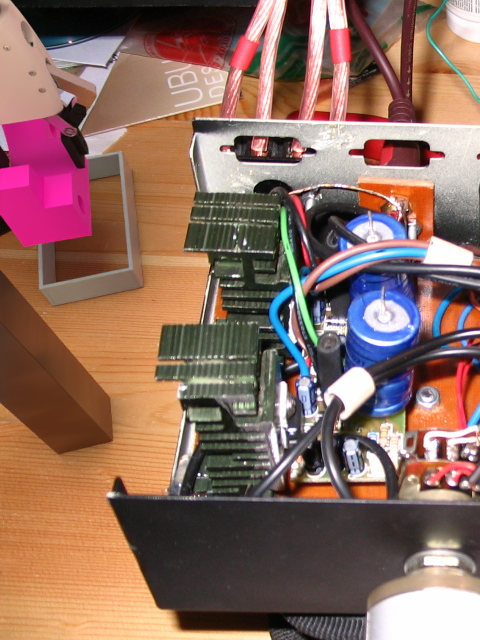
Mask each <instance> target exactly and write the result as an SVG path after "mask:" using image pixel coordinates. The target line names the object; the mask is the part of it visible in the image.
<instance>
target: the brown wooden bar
mask: <svg viewBox="0 0 480 640" xmlns="http://www.w3.org/2000/svg"><path fill="white" fill-rule="evenodd" d="M0 404H1V406H3V407H4V408H5V409H6V410H7V411H8V412H9V413H11V415H13V416H14V417H15V418H16V419H17V420H19V421H20V423H22V424H23V425H24V426H25V427H26V428H28V430H30V431H31V432H32V433H33V434H35V435H36V436H37V437H38V438H39V439H40V440H41V441H42V442H43V443H44V444H46V445H47V447H49V448H50V449H51V450H52V451H54V453H56V454H57V455H61V454H64V453H68V452H72V451H77V450H80V449H85V448H89V447H93V446H96V445H101V444H106V443H111V442H113V440H114V439H113V426H112V425H113V424H112V411H111V397H110V396H109V394H108V393H107V392H106V391H105V389H103V387H102V386H101V385H100V384H99V383H98V381H97V380H96V379H95V378H94V377H93V376H92V374H91V373H90V372H89V371H88V370H87V368H86V367H85V366H83V364H82V363H81V361H79V360H78V359H77V357H76V356H75V355H74V354H73V352H72V351H71V350H70V349H69V347H68V346H66V344H65V343H64V342H63V341H62V340H61V338H60V337H59V336H58V335H57V333H55V332H54V330H53V329H52V328H51V327H50V325H49V324H48V323H47V322H46V321H45V320H44V319H43V318H42V316H41V315H40V314H39V313H38V312H37V310H36V309H35V308H34V307H33V306H32V304H30V302H29V301H28V300H27V299H26V298H25V297H24V295H23V294H22V293H21V291H19V289H18V288H17V287H16V286H15V285H14V284H13V283H12V282H11V280H10V279H9V278H8V276H7V275H5V273H4V272H3V271H2V270H1V269H0Z"/></svg>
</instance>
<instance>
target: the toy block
mask: <svg viewBox="0 0 480 640" xmlns="http://www.w3.org/2000/svg"><path fill="white" fill-rule="evenodd" d="M0 126H1V128H2V131H3V134H4V137H5V142H6V145H7V150H8V155H9V156H8V157H9V161H10V167H9V168H3V169H0V217H1V218H2V219H3V221H4V222H5V223H6V225H7V226H8V228H10V230H11V232H12V233H13V234H14V236H15V237H16V238H17V239H18V241H19V243H21V245H22V247H24V248H25V247H32V246H38V244H43V243H49V242H61V241H66V240H73V239H78V238H83V237H90V236H92V235H93V233H92V211H91V210H92V209H91V191H90V180H89V167H88V160H87V158H86V157H87V156H85V168H83V169H79V168H76V166H75V164H74V163H73V161H72V159H71V157H70V156H69V154H68V152H67V150H66V149H65V147H64V145H63V144H62V142H61V135H60V131H59V130H58V129H56V128H55V127H54V126H53V125H51V124H50V123H49V122H47V121H46V120H45V119H43V118H40V119H34V120H28V121H22V122H15V123H9V124H2V125H0Z"/></svg>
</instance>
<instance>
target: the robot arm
mask: <svg viewBox="0 0 480 640" xmlns="http://www.w3.org/2000/svg"><path fill="white" fill-rule="evenodd" d="M60 90H61V91H64V92H66V93H69V94H71V95H73V97H71V100H70V101H69V102H68V103H66V102H65V101H64V100H63V99H62V97H61V96H62V95H61V93H60ZM97 93H98V92H97V85H96V84H95V83H93V82H91V81H89V80H86V79H83V78H82V77H80V76H77V75H75V74H73V73H71V72H68V71H66V70H64V69H61V68H59V67H57V65H56V63H55V62H54V60H53V58H52V57H51V55H50V53H49V51H48V50H47V48H46V47H45V46H44V44H43V42H42V41H41V39H40V38H39V37H38V34H37V33H36V32H35V30H34V29H33V27H32V26H31V25H30V24H29V22H28V21H27V19H26V18H25V16H24V15H23V14H22V13H21V11H20V10H19V9H18V7H17V6H15V4H14V3H13V1H12V0H0V126H1V125H2V124H9V123H15V122H22V121H28V120H34V119H40V118H43V119H45V120H46V121H47V122H49V123H50V124H51V125H53V126H54V127H55V128H56V129H58V130H59V131H60V135H61V142H62V144H63V145H64V147H65V149H66V150H67V152H68V154H69V156H70V157H71V159H72V161H73V163H74V164H75V166H76V168H79V169H83V168H85V157H86V156H87V155H89V154H90V150H89V145H88V142H87V140H86V139H85V137H84V136H83V133H82V132H81V129H80V128H79V127H80V125H81V124H82V123H83V121H84V120H85V118H86V117H87V114H88V111H89V109H90V108H92V106H93V104H94V102H95V101H96V99H97V97H98V94H97ZM9 167H10V157H9V156H8V155H7V153H6V151H5V150H4V148H3V147H2V146H1V145H0V169H3V168H9Z"/></svg>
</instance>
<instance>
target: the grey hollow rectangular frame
mask: <svg viewBox="0 0 480 640" xmlns="http://www.w3.org/2000/svg"><path fill="white" fill-rule="evenodd" d="M85 157H86V158H87V160H88V167H89V181H91V180H97V179H102V178H107V177H113V176H120V184H121V185H120V186H121V187H120V188H121V196H122V197H121V198H122V208H123V219H124V229H125V231H124V232H125V241H126V253H127V263H128V264H127V265H128V267H124V268H121V269H115V270H110V271H106V272H101V273H96V274H91V275H87V276H81V277H77V278H73V279H66V280H63V281H58V282H57V276H56V275H57V270H56V243H55V242H56V241H55V242H49V243H43V244H38V245H37V253H38V254H37V255H38V256H37V257H38V259H37V260H38V261H37V262H38V290H39V291H40V292H41V293H42V294H43V296H44V297H45V299H46V300H47V301H48V302H49V304H51V306H52V307H56V306H60V305H65V304H70V303H75V302H78V301H83V300H89V299H93V298H98V297H103V296H108V295H112V294H117V293H121V292H126V291H131V290H137V289H140V288H144V277H143V268H142V257H141V247H140V237H139V227H138V219H137V208H136V206H137V205H136V197H135V189H134V188H135V187H134V178H133V169H132V167H131V165H130V164H129V162H128V159H127V158H126V156H125V154H124V152H123V151H122V150H118V151H113V152H108V153H107V152H106V153H102V154H101V153H100V154H96V155H90V156H85Z"/></svg>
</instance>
